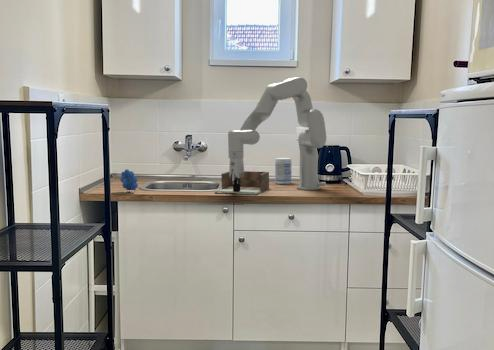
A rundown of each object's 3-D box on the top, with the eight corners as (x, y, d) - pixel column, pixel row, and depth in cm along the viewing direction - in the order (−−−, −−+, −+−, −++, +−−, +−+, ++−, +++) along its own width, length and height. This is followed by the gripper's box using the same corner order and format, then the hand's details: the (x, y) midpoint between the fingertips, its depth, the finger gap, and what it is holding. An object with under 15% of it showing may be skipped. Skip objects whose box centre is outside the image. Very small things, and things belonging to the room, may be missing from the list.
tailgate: (261, 190, 241) (256, 192, 232) (261, 192, 241) (256, 194, 232) (220, 188, 247) (214, 191, 239) (220, 191, 247) (214, 193, 239)
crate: (268, 188, 256) (268, 171, 255) (261, 192, 242) (261, 174, 241) (230, 186, 263) (230, 170, 262) (221, 190, 249) (221, 173, 248)
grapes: (115, 192, 245) (114, 169, 243) (124, 190, 250) (123, 168, 249) (131, 194, 239) (130, 170, 237) (141, 192, 244) (140, 169, 243)
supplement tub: (287, 184, 270) (287, 159, 268) (272, 183, 274) (272, 158, 272) (294, 182, 278) (294, 158, 276) (279, 182, 283) (279, 157, 281)
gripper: (238, 156, 227) (239, 193, 229) (247, 154, 241) (248, 189, 243) (223, 156, 229) (224, 193, 231) (233, 153, 243) (234, 189, 245)
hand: (236, 191), depth 237 cm, fingers closed
